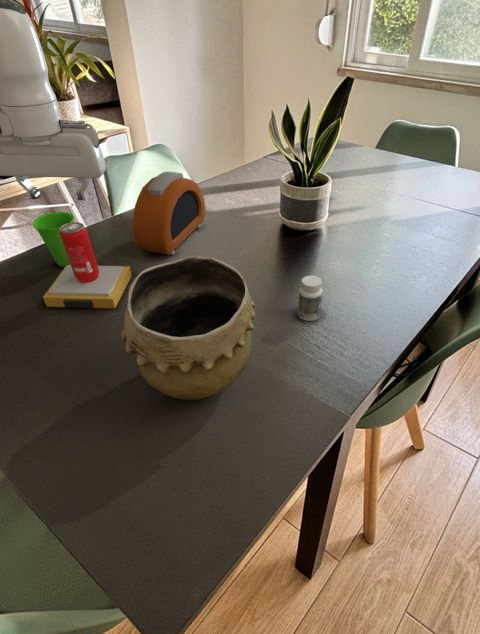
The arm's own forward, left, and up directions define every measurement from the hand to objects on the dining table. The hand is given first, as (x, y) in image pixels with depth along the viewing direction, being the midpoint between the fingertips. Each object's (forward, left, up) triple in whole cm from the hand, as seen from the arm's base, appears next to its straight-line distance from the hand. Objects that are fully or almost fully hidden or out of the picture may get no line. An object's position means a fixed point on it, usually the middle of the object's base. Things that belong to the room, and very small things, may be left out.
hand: (59, 198), depth 82 cm
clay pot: (+29, -27, -22) cm, 45 cm away
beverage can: (0, +1, -18) cm, 18 cm away
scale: (0, 0, -21) cm, 21 cm away
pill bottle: (+49, -7, -22) cm, 54 cm away
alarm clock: (+14, +25, -21) cm, 36 cm away
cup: (-10, +12, -22) cm, 27 cm away
